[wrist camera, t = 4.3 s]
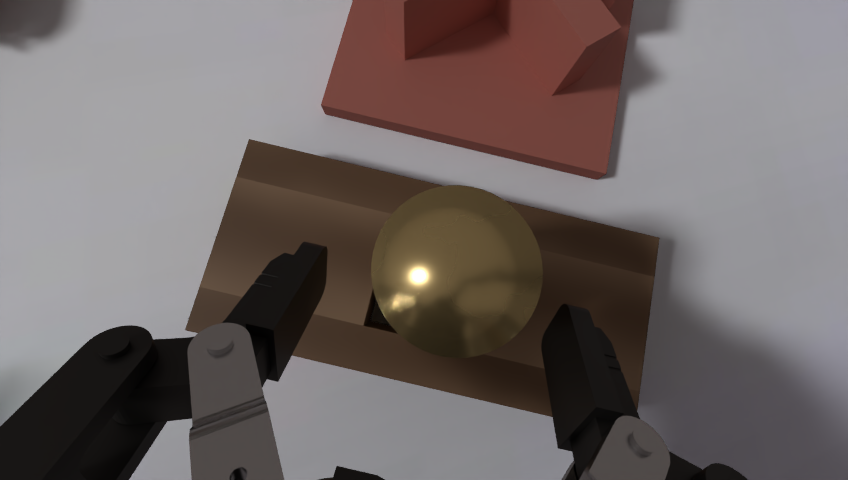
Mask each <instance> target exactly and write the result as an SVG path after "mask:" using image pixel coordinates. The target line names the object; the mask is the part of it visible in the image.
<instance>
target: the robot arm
mask: <svg viewBox="0 0 848 480" xmlns="http://www.w3.org/2000/svg"><path fill="white" fill-rule="evenodd" d="M327 255H328V249H327V247H326V246H322V245H318V244H314V243H309V242H303V243H302V244H301V245H300V247H299V248H298V250H297V251H296V252H295V254H294V255H292V254H288V253H283V254H281V255H280V256H278V257H276V258H275V259H273V260H271V261H270V262H269V264H268V265H267V266H266V267H265V269H264V270H263V271H262V273H261V275H259V276H258V278H257V279H256V280H255V282H254V284H252V285H251V287H250V288H249V289H248V291H247V292H246V293H245V295H244V296H243V297H242V298H241V300H240V301H239V302H238V304H237V305H236V306H235V307H234V309H233V310H232V311H231V313H230V314H229V315H228V316H227V318H226V319H225V320H224V321H223V322H222V323H220V324H216V325H212V326H210V327H207V328H206V329H204V330H202V331H201V332H199V333H198V334H197V335H196V336H195V337H190V338H175V339H155V340H153V339H152V336H151V334H150V333H149V331H147V330H146V329H144V328H142V327H139V326H120V327H116V328H112V329H109V330H106V331H104V332H102V333H100V334H98V335H96V336H95V337H93V338H92V339H90V340H89V341H88V342H87V343H86V344H85V345H83V346H82V347H81V348H80V349H79V350H78V351H77V352H76V353H75V354H74V355H73V356H72V357H71V358H70V359H69V360H68V361H67V362H66V363H65V364H64V365H63V366H62V367H61V368H60V369H59V370H58V371H57V372H56V373H55V374H54V375H53V376H52V377H51V378H50V379H49V380H48V381H47V382H46V383H45V384H44V385H42V386H41V387H40V388H39V389H38V390H37V391H36V392H35V393H34V394H33V395H32V396H31V397H30V398H29V399H28V400H27V401H26V402H25V403H24V404H23V405H22V406H21V407H20V408H19V409H18V410H17V411H16V412H15V413H14V414H13V415H12V416H11V417H10V418H9V419H8V420H7V421H6V422H5V423H4V424H3V425H1V426H0V480H129V479H130V477H131V476H132V474H133V473H134V471H135V470H136V468H137V466H138V465H139V463H140V462H141V460H142V459H143V457H144V456H145V454H146V453H147V451H148V450H149V448H150V447H151V445H152V444H153V442H154V441H155V439H156V438H157V436H158V435H159V433H160V431H161V430H162V428H163V427H164V425H165V424H166V422H167V421H173V420H182V419H191V418H192V422H193V425H192V428H191V429H190V433H189V444H190V460H191V475H192V480H284V477H283V472H282V468H281V464H280V459H279V455H278V451H277V446H276V442H275V437H274V433H273V429H272V424H271V420H270V415H269V411H268V407H267V403H266V401H265V399H264V395H263V390H262V387H263V385H264V383H265V381H266V380H267V379H269V380H273V381H277V382H278V381H279V379H280V377H281V375H282V373H283V371H284V369H285V367H286V365H287V364H288V362H289V360H290V358H291V356H292V354H293V352H294V350H295V348H296V346H297V344H298V342H299V340H300V338H301V336H302V335H303V333H304V331H305V329H306V327H307V325H308V323H309V321H310V319H311V317H312V315H313V313H314V311H315V309H316V307H317V305H318V304H319V302H320V300H321V298H322V295H323V293H324V290H325V286H326V278H327ZM541 350H542V357H543V362H544V368H545V374H546V380H547V386H548V392H549V398H550V404H551V410H552V416H553V422H554V427H555V433H556V439H557V445H558V448H559V449H564V450H568V451H572V452H573V457H574V461H573V462H572V463H571V465H570V466H569V468H568V469H567V471H566V473H565V474H564V476H563V478H562V480H747V479H746V478H745V477H744V476H743V475H742V474H740V473H739V472H737V471H736V470H734V469H733V468H731V467H729V466H726V465H723V464H719V463H714V464H711V465H709V466H708V467H706V468H704V469H703V470H702V469H700V468H699V467H697V466H695V465H693V464H691V463H689V462H687V461H686V460H684V459H682V458H680V457H678V456H676V455H675V454H673V453H671V452H669V451H668V449H667V446H666V445H665V443H664V441H663V440H662V438H661V437H660V436H659V434H658V433H657V432H656V431H655V430H654V429H653V428H652V427H651V426H649V425H648V424H647V423H645V422H644V421H642V420H640V418H639V415H638V412H637V410H636V407H635V404H634V402H633V399H632V396H631V394H630V391H629V388H628V386H627V383H626V380H625V377H624V375H623V372H621V367H620V364H619V361H618V360H617V359H616V358H617V356H616V353H615V351H614V348H613V345H612V342H611V341H610V340H609V339H608V337H607V336H606V335H605V333H604V332H603V331H602V329H601V328H598V327H595V326H594V323H593V320H592V317H591V314H590V312H589V310H588V309H585V308H581V307H577V306H573V305H568V304H562V305H561V306H560V308H559V309H558V311H557V313H556V314H555V316H554V317H553V319H552V321H551V322H550V324H549V326H548V327H547V329H546V330H545V332H544V335H543V338H542V343H541ZM319 480H384V479H383V478H381V477H379V476H377V475H373V474H369V473H365V472H360V471H356V470H352V469H347V468H343V467H339V466H337V467H336V470H335V473H334V477H333V478H324V479H319Z"/></svg>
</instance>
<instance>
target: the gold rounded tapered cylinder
mask: <svg viewBox="0 0 848 480" xmlns="http://www.w3.org/2000/svg"><path fill="white" fill-rule="evenodd" d="M371 278H372V286H373V290H374V294H375V298H376V300H377V303H378V305H379V307H380V310H381V311H382V313H383V315H384V317H385V318H386V320H387V321H388V322H389V324H390V325H391V326H392V328H393V329H394V330H395V331H396V332H397V333H398V334H399V335H400V336H401V337H403V338H404V339H405V340H406V341H408V342H409V343H410V344H412V345H414V346H416V347H417V348H419V349H421V350H423V351H426V352H428V353H431V354H434V355H438V356H442V357H450V358H468V357H474V356H479V355H482V354H486V353H489V352H491V351H493V350H495V349H497V348H500V347H501V346H503V345H504V344H506V343H507V342H509V341H510V340H511V339H512V338H514V337H515V336H516V335H517V334H518V333H519V332H520V331H521V330H522V328H523V327H524V326H525V325H526V324H527V322H528V321H529V319H530V318H531V316H532V314H533V312H534V310H535V308H536V306H537V303H538V300H539V297H540V293H541V288H542V279H543V267H542V259H541V254H540V249H539V246H538V243H537V240H536V238H535V236H534V234H533V232H532V230H531V229H530V227H529V225H528V224H527V222H526V221H525V220H524V218H523V217H522V216H521V215H520V214H519V213H518V212H517V211H516V210H515V209H514V208H513V207H512V206H511V205H510V204H508V203H507V202H506V201H504V200H503V199H501V198H499V197H498V196H496V195H494V194H492V193H490V192H487V191H485V190H482V189H478V188H474V187H469V186H461V185H450V186H442V187H437V188H433V189H429V190H427V191H424V192H422V193H419V194H417V195H415V196H414V197H412V198H410V199H409V200H407V201H406V202H405V203H403V204H402V205H401V206H400V207H399V208H398V209H397V210H396V211H394V212H393V213H392V215H391V216H390V217H389V219H388V220H387V221H386V223H385V224H384V226H383V228H382V229H381V231H380V233H379V236H378V238H377V240H376V243H375V247H374V250H373V255H372V262H371Z"/></svg>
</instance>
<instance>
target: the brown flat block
mask: <svg viewBox="0 0 848 480" xmlns="http://www.w3.org/2000/svg"><path fill="white" fill-rule="evenodd" d="M437 187H442V185H437V184H433V183H429V182H425V181H421V180H417V179H413V178H408V177H404V176H400V175H396V174H392V173H388V172H383V171H379V170H375V169H371V168H367V167H363V166H358V165H354V164H350V163H346V162H342V161H338V160H333V159H329V158H325V157H321V156H317V155H313V154H309V153H304V152H300V151H296V150H292V149H288V148H284V147H279V146H275V145H271V144H267V143H263V142H259V141H254V140H250V139H249V141H248V144H247V147H246V150H245V153H244V156H243V159H242V162H241V165H240V168H239V171H238V174H237V177H236V180H235V183H234V186H233V189H232V192H231V195H230V198H229V201H228V204H227V207H226V210H225V213H224V216H223V219H222V222H221V225H220V228H219V231H218V234H217V237H216V239H215V242H214V245H213V248H212V251H211V254H210V257H209V260H208V263H207V266H206V269H205V272H204V275H203V278H202V281H201V284H200V287H199V290H198V293H197V296H196V299H195V302H194V305H193V308H192V311H191V314H190V317H189V320H188V323H187V326H186V329H185V330H187V331H191V332H196V333H199V332H201V331H202V330H204V329H206V328H207V327H210V326H212V325H216V324H220V323H222V322H223V321H224V320H225V319H226V318H227V316H228V315H229V314H230V313H231V311H232V310H233V309H234V307H235V306H236V305H237V304H238V302H239V301H240V300H241V298H242V297H243V296H244V295H245V293H246V292H247V291H248V289H249V288H250V287H251V285H252V284H254V282H255V280H256V279H257V278H258V276H259V275H261V273H262V271H263V270H264V269H265V267H266V266H267V265H268V264H269V262H270V261H271V260H273V259H275V258H276V257H278V256H280V255H281V254H283V253H288V254H292V255H294V254H295V252H296V251H297V250H298V248H299V247H300V245H301V244H302V243H303V242H309V243H314V244H318V245H322V246H326V247H327V249H328V255H327V278H326V286H325V290H324V293H323V295H322V298H321V300H320V302H319V304H318V305H317V307H316V309H315V311H314V313H313V315H312V317H311V319H310V321H309V323H308V325H307V327H306V329H305V331H304V333H303V335H302V336H301V338H300V340H299V342H298V344H297V346H296V348H295V350H294V352H293V354H292V355H293V356H297V357H301V358H305V359H310V360H314V361H318V362H322V363H327V364H331V365H335V366H339V367H344V368H348V369H352V370H356V371H360V372H365V373H369V374H373V375H377V376H382V377H386V378H390V379H394V380H398V381H403V382H407V383H411V384H415V385H420V386H424V387H428V388H432V389H437V390H441V391H445V392H449V393H453V394H458V395H462V396H466V397H470V398H475V399H479V400H483V401H487V402H491V403H496V404H500V405H504V406H508V407H513V408H517V409H521V410H525V411H530V412H534V413H538V414H542V415H546V416H551V417H553V416H552V410H551V404H550V398H549V392H548V386H547V380H546V374H545V368H544V362H543V357H542V350H541V343H542V338H543V335H544V332H545V330H546V329H547V327H548V326H549V324H550V322H551V321H552V319H553V317H554V316H555V314H556V313H557V311H558V309H559V308H560V306H561V305H562V304H568V305H573V306H577V307H581V308H585V309H588V310H589V312H590V314H591V317H592V320H593V323H594V326H595V327H598V328H601V329H602V331H603V332H604V333H605V335H606V336H607V337H608V339H609V340H610V341H611V342H612V345H613V348H614V351H615V353H616V356H617V358H616V359H617V360H618V361H619V364H620V367H621V372H623V375H624V377H625V380H626V383H627V386H628V388H629V391H630V394H631V396H632V399H633V402H634V404H635V407H636V410H637V408H638V400H639V393H640V385H641V377H642V369H643V362H644V354H645V346H646V338H647V330H648V323H649V315H650V307H651V299H652V291H653V284H654V276H655V268H656V260H657V253H658V245H659V238H658V237H654V236H650V235H646V234H641V233H637V232H633V231H629V230H625V229H621V228H616V227H612V226H608V225H604V224H600V223H596V222H591V221H587V220H583V219H579V218H575V217H571V216H566V215H562V214H558V213H554V212H550V211H546V210H542V209H537V208H533V207H529V206H525V205H521V204H517V203H512V202H508V201H506V202H507V203H508V204H510V205H511V206H512V207H513V208H514V209H515V210H516V211H517V212H518V213H519V214H520V215H521V216H522V217H523V218H524V220H525V221H526V222H527V224H528V225H529V227H530V229H531V230H532V232H533V234H534V236H535V238H536V240H537V243H538V246H539V249H540V254H541V259H542V267H543V279H542V288H541V293H540V297H539V300H538V303H537V306H536V308H535V310H534V312H533V314H532V316H531V318H530V319H529V321H528V322H527V324H526V325H525V326H524V327H523V328H522V330H521V331H520V332H519V333H518V334H517V335H516V336H515V337H514V338H512V339H511V340H510V341H509V342H507V343H506V344H504V345H503V346H501V347H500V348H497V349H495V350H493V351H491V352H489V353H486V354H482V355H479V356H474V357H468V358H450V357H442V356H438V355H434V354H431V353H428V352H426V351H423V350H421V349H419V348H417V347H416V346H414V345H412V344H410V343H409V342H408V341H406V340H405V339H404V338H403V337H401V336H400V335H399V334H398V333H397V332H396V331H395V330H394V329H393V328H392V326H390V325H386V324H382V323H377V322H373V321H371V317H372V313H373V309H374V305H375V301H376V298H375V294H374V290H373V286H372V278H371V262H372V255H373V250H374V247H375V243H376V240H377V238H378V236H379V233H380V231H381V229H382V228H383V226H384V224H385V223H386V221H387V220H388V219H389V217H390V216H391V215H392V213H393V212H394V211H396V210H397V209H398V208H399V207H400V206H401V205H402V204H403V203H405V202H406V201H407V200H409V199H410V198H412V197H414V196H415V195H417V194H419V193H422V192H424V191H427V190H429V189H433V188H437Z"/></svg>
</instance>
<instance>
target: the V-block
mask: <svg viewBox="0 0 848 480" xmlns="http://www.w3.org/2000/svg"><path fill="white" fill-rule="evenodd" d="M633 2H634V0H353V2H352V5H351V9H350V12H349V15H348V18H347V22H346V25H345V28H344V32H343V35H342V38H341V41H340V45H339V48H338V51H337V54H336V58H335V61H334V64H333V68H332V71H331V74H330V77H329V81H328V84H327V87H326V90H325V94H324V97H323V100H322V104H321V106H322V108H323V110H324V112H325V114H327V115H331V116H335V117H339V118H343V119H347V120H351V121H356V122H360V123H364V124H368V125H372V126H376V127H381V128H385V129H389V130H393V131H397V132H401V133H405V134H410V135H414V136H418V137H422V138H426V139H430V140H434V141H439V142H443V143H447V144H451V145H455V146H459V147H463V148H468V149H472V150H476V151H480V152H484V153H488V154H492V155H497V156H501V157H505V158H509V159H513V160H517V161H522V162H526V163H530V164H534V165H538V166H542V167H546V168H551V169H555V170H559V171H563V172H567V173H571V174H575V175H580V176H584V177H588V178H592V179H596V180H597V179H599V178H600V177H602V176H604V175H605V174H606V173H607V166H608V160H609V154H610V147H611V141H612V135H613V128H614V122H615V116H616V109H617V103H618V97H619V90H620V84H621V78H622V71H623V65H624V59H625V52H626V46H627V40H628V33H629V27H630V21H631V14H632V8H633Z"/></svg>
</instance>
